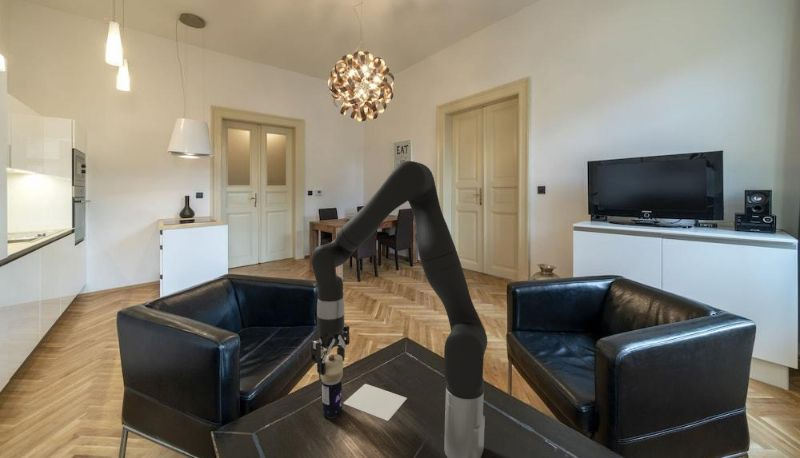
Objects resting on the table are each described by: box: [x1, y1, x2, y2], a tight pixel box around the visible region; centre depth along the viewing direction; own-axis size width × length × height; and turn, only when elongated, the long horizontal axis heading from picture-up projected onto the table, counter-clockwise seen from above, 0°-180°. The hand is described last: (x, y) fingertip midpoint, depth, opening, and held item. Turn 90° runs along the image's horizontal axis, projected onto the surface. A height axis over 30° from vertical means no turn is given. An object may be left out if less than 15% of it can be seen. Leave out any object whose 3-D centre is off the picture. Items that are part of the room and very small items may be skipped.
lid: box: [319, 353, 344, 382], centre depth 97 cm, size 6×6×6 cm
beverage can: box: [321, 377, 343, 419], centre depth 98 cm, size 6×6×12 cm
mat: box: [342, 383, 408, 422], centre depth 104 cm, size 16×12×1 cm
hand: (331, 367), depth 97 cm, fingers open, 8 cm apart
